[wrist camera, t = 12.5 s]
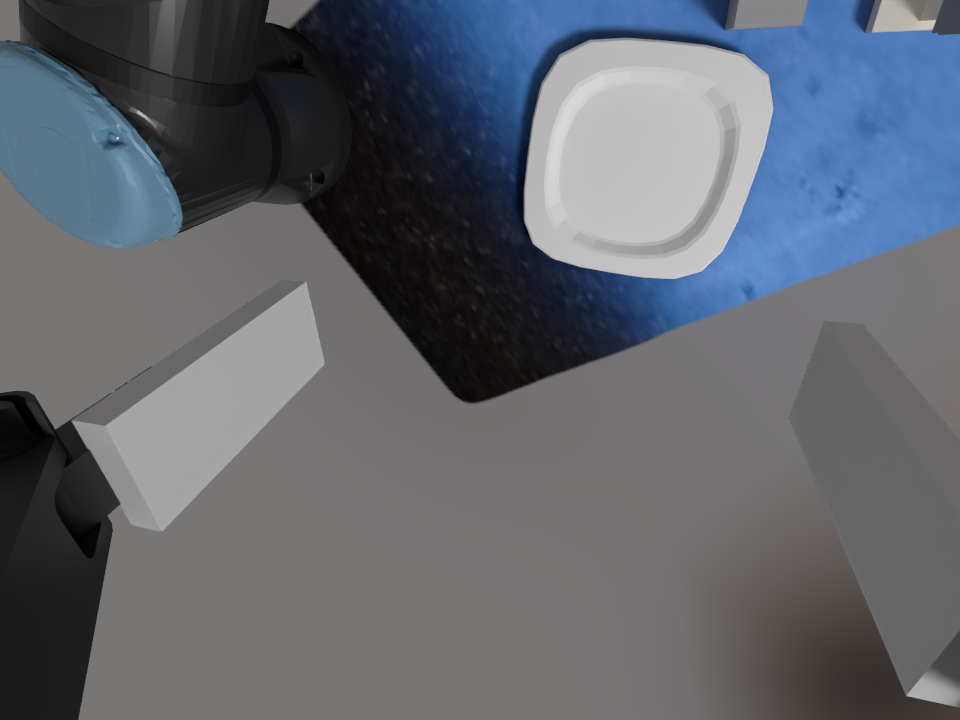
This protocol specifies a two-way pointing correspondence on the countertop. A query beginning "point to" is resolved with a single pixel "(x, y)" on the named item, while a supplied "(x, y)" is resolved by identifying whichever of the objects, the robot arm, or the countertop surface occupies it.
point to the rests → (765, 14)
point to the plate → (644, 154)
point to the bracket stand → (915, 16)
